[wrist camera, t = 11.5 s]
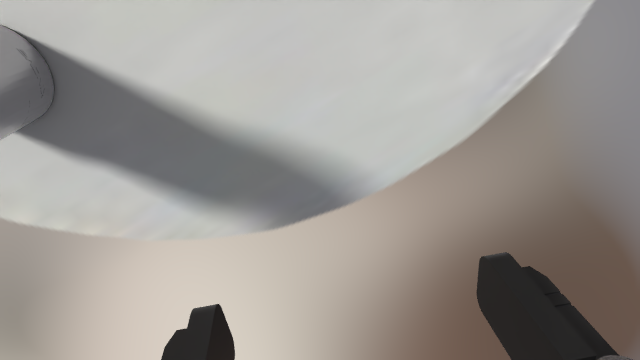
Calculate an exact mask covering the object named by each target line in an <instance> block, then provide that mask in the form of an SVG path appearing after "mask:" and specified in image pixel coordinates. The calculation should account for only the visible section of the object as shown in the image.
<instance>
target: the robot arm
mask: <svg viewBox="0 0 640 360" xmlns="http://www.w3.org/2000/svg"><path fill="white" fill-rule="evenodd" d="M53 95H54V84H53V78H52V75H51V72H50V70H49V67H48V66H47V64H46V62H45V60H44V59H43V57H42V56H41V55H40V54H39V52H38V51H37V50H36V49H35V48H34V47H33V46H32V45H31V44H30V43H29V42H28V41H27V40H26V39H24V38H23V37H22V36H20V35H18V34H17V33H15V32H14V31H12V30H10V29H8V28H6V27H3V26H1V25H0V140H1V139H3V138H5V137H6V136H8V135H10V134H12V133H14V132H15V131H17V130H19V129H20V128H22V127H24V126H26V125H27V124H29V123H31V122H32V121H34V120H36V119H38V118H39V117H40V116H42V115H43V114H44V113H45V112H46V111H47V110H48V108H49V107H50V105H51V103H52V100H53ZM477 299H478V303H479V306H480V309H481V311H482V312H483V315H484V316H485V318H486V319H487V321H488V323H489V324H490V326H491V327H492V329H493V331H494V332H495V334H496V335H497V337H498V338H499V340H500V342H501V343H502V345H503V347H504V348H505V350H506V352H507V353H508V355H509V356H510V358H511V360H633V359H630V358H627V357H623V356H620V355H618V354H617V353H616V352H615V351H614V350H613V349H612V348H611V346H610V345H609V344H608V343H607V342H606V341H605V340H604V339H603V338H602V337H601V335H600V334H599V333H598V332H597V331H596V330H595V329H594V328H593V327H592V326H591V325H590V323H589V322H588V321H587V320H586V319H585V318H584V317H583V316H582V315H581V314H580V313H579V311H577V309H576V308H575V307H574V306H572V305H571V303H570V301H569V300H568V299H567V298H566V297H565V296H564V295H563V294H561V293H560V291H559V289H558V288H557V287H556V286H555V285H554V284H553V283H552V282H551V281H550V280H549V279H548V278H547V277H546V276H544V275H543V274H541V273H540V272H538V271H536V270H535V269H533V268H532V267H530V266H528V267H521V266H520V265H519V264H518V263H517V262H516V260H515V259H514V258H513V257H512V256H511V255H510V254H509V253H507V252H505V253H499V254H495V255H489V256H483V257H481V258H480V261H479V271H478V283H477ZM234 359H235V350H234V341H233V337H232V334H231V332H230V329H229V326H228V324H227V321H226V319H225V316H224V313H223V311H222V308H221V306H220V305H219V304H216V305H210V306H206V307H200V308H194V309H193V310H192V312H191V315H190V319H189V323H188V327H187V329H181V330H177V331H176V332H175V333H174V335H173V336H172V338H171V339H170V340H169V342H168V343H167V345H166V346H165V349H164V352H163V356H162V359H161V360H234Z"/></svg>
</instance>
